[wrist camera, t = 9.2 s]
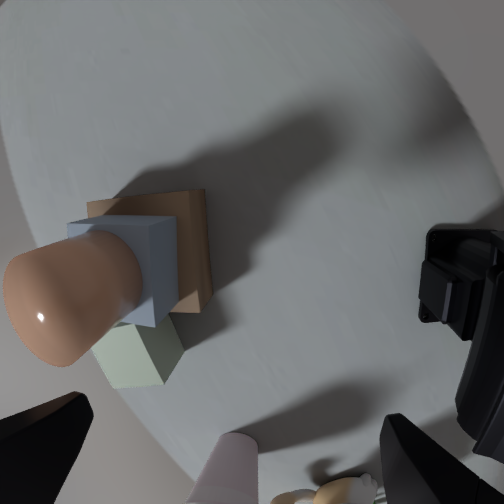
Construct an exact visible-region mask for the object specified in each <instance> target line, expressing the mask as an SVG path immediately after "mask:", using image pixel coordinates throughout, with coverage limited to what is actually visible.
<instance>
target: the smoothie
mask: <svg viewBox="0 0 504 504" xmlns="http://www.w3.org/2000/svg"><path fill="white" fill-rule="evenodd" d="M184 504H258V445H257V443H256V441H255V440H254V439H253V438H251V437H250V436H248V435H245V434H242V433H226V434H224V435H222V436H221V437H220V438H219V439H218V441H217V443H216V445H215V447H214V449H213V451H212V453H211V455H210V457H209V458H208V460H207V462H206V464H205V466H204V468H203V470H202V472H201V474H200V475H199V477H198V479H197V481H196V483H195V485H194V487H193V488H192V490H191V492H190V494H189V496H188V497H187V499H186V501H185V503H184Z"/></svg>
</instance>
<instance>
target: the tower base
mask: <svg viewBox="0 0 504 504" xmlns="http://www.w3.org/2000/svg"><path fill="white" fill-rule="evenodd" d="M87 212H88V218H92V217H96V216H100V215H140V216H177V267H178V292H179V302H178V303H177V304H176V306H175V307H174V308H173V309H172V310H171V311H170V312H185V313H200V312H201V311H202V310H203V308H204V307H205V305H206V304H207V302H208V301H209V300H210V298H211V297H212V295H213V287H212V276H211V266H210V254H209V242H208V230H207V217H206V203H205V189H200V190H188V191H177V192H166V193H156V194H147V195H138V196H129V197H121V198H113V199H106V200H99V201H92V202H87Z"/></svg>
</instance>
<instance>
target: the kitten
mask: <svg viewBox="0 0 504 504" xmlns="http://www.w3.org/2000/svg"><path fill="white" fill-rule="evenodd" d="M376 495H377V482H376V480H375V479H371V476H370V474H368V473H365V474H363V475H361V476H360V478H357V477H347V478H341V479H338V480H335V481H332V482H329V483H327V484H325V485H323V486H321V487H320V488H319V489H318V490H317V491H314V490H310V489H299V490H295V491H291V492H287V493H283V494H280V495H278V496H276V497H275V498H274V499H273V500H272V501H271V503H270V504H294V503H295V502H311V501H313V504H375V502H374V500H375V496H376Z"/></svg>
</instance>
